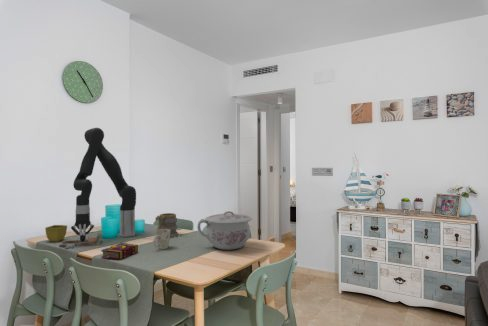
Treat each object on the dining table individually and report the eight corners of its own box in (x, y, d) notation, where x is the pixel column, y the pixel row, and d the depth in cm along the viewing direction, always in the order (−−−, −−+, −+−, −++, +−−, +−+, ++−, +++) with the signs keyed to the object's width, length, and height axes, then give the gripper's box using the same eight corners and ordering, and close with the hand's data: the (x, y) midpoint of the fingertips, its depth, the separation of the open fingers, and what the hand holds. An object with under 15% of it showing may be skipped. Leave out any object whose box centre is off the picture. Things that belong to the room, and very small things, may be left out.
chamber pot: (261, 245, 187) (261, 210, 187) (233, 257, 165) (233, 217, 164) (223, 238, 203) (223, 206, 203) (193, 248, 180) (193, 212, 180)
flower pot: (67, 239, 202) (67, 225, 202) (58, 242, 193) (58, 228, 193) (54, 239, 203) (54, 224, 203) (44, 242, 194) (44, 227, 194)
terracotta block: (97, 242, 195) (97, 235, 195) (96, 244, 191) (96, 237, 191) (88, 242, 194) (88, 236, 194) (87, 244, 189) (87, 238, 189)
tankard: (165, 232, 221) (165, 211, 221) (181, 234, 217) (181, 212, 217) (146, 239, 203) (146, 215, 203) (163, 240, 198) (163, 216, 198)
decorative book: (138, 252, 173) (138, 243, 173) (117, 261, 158) (117, 251, 158) (121, 250, 177) (121, 241, 177) (99, 259, 162) (99, 249, 161)
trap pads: (88, 240, 199) (88, 239, 199) (71, 249, 180) (71, 247, 180) (80, 240, 199) (80, 239, 199) (62, 249, 180) (62, 247, 180)
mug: (173, 246, 184) (173, 229, 184) (160, 252, 172) (160, 234, 172) (160, 245, 187) (160, 228, 187) (147, 251, 175) (147, 233, 175)
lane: (101, 240, 199) (101, 232, 199) (100, 244, 189) (100, 236, 189) (62, 243, 192) (62, 235, 191) (59, 247, 182) (59, 239, 182)
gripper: (95, 211, 196) (95, 239, 196) (71, 212, 192) (71, 240, 192) (94, 212, 189) (94, 241, 189) (69, 214, 185) (69, 243, 185)
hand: (82, 241), depth 190 cm, fingers closed
